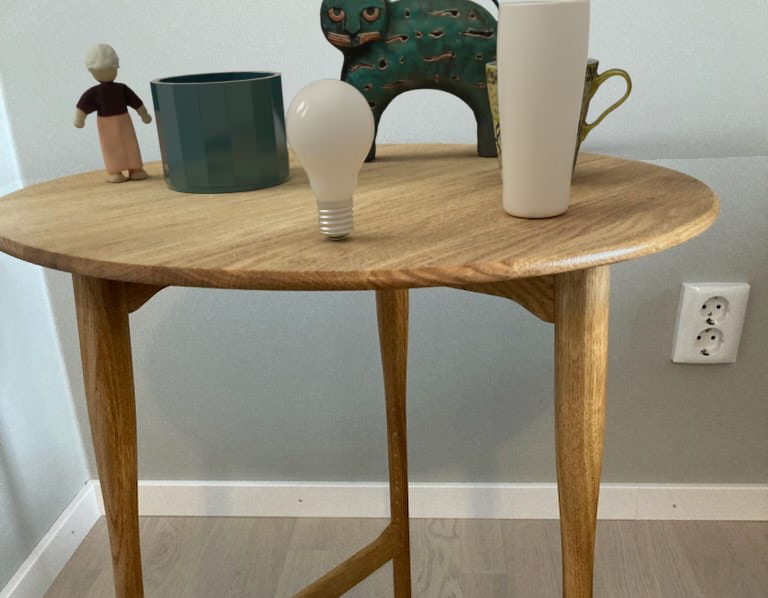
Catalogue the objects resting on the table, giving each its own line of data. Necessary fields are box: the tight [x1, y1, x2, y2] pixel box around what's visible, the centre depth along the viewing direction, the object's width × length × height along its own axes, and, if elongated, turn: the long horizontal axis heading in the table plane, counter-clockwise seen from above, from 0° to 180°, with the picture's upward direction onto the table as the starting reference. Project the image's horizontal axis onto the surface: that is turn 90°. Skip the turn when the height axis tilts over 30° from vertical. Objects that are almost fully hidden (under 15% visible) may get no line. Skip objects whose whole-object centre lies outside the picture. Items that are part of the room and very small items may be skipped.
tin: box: [149, 70, 291, 194], centre depth 90 cm, size 12×12×10 cm
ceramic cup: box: [486, 57, 633, 182], centre depth 83 cm, size 13×10×10 cm
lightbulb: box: [285, 78, 375, 241], centre depth 66 cm, size 6×6×11 cm
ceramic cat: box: [319, 0, 500, 163], centre depth 95 cm, size 20×6×20 cm, turn 88°
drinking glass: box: [497, 0, 591, 219], centre depth 70 cm, size 7×7×15 cm
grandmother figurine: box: [73, 42, 153, 183], centre depth 92 cm, size 8×4×13 cm, turn 130°
